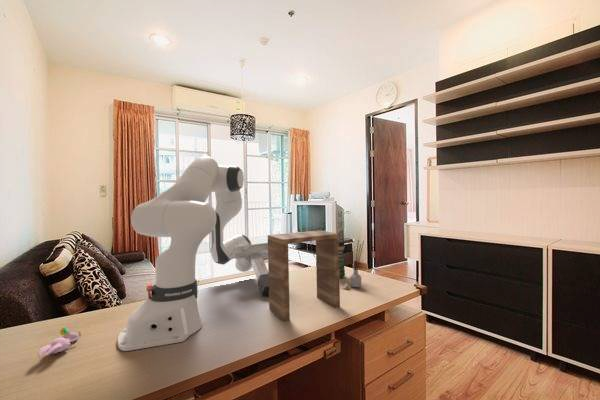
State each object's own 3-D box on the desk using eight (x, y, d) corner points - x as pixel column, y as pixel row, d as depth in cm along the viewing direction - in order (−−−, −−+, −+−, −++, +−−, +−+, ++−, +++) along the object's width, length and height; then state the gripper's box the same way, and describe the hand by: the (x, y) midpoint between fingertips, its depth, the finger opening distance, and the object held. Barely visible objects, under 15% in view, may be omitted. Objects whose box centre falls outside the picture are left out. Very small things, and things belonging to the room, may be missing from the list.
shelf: (284, 321, 91) (282, 239, 90) (269, 308, 101) (267, 235, 101) (339, 306, 101) (338, 233, 101) (321, 296, 112) (320, 230, 111)
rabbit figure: (62, 344, 82) (26, 365, 68) (63, 322, 83) (28, 339, 68) (87, 341, 84) (57, 361, 69) (88, 319, 84) (58, 335, 70)
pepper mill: (262, 298, 113) (265, 289, 110) (247, 258, 127) (249, 249, 124) (275, 295, 115) (278, 287, 112) (259, 257, 130) (262, 248, 127)
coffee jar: (329, 280, 132) (329, 240, 132) (322, 275, 140) (321, 238, 139) (347, 277, 136) (347, 238, 136) (339, 273, 143) (338, 236, 143)
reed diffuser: (360, 283, 127) (359, 238, 126) (371, 288, 120) (370, 240, 120) (341, 287, 122) (340, 240, 121) (351, 292, 116) (350, 243, 115)
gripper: (227, 250, 128) (235, 238, 117) (270, 245, 138) (280, 234, 127) (229, 264, 125) (237, 253, 115) (272, 258, 135) (283, 247, 124)
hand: (260, 243), depth 121 cm, fingers open, 8 cm apart
